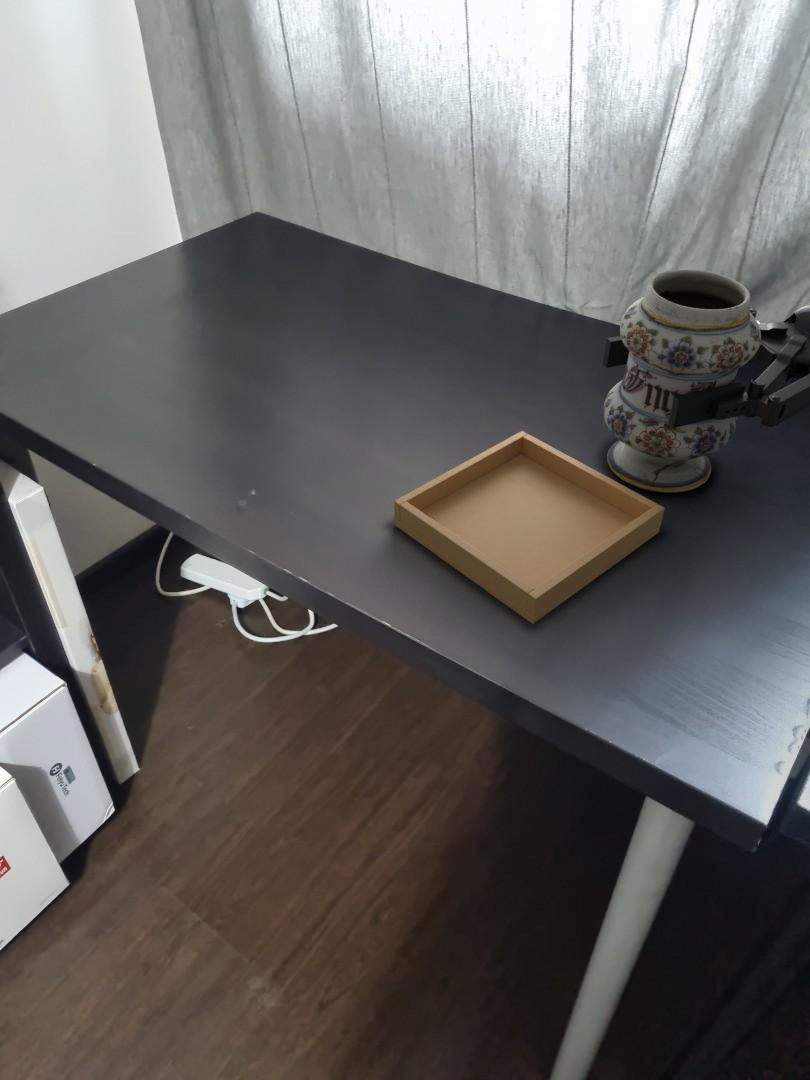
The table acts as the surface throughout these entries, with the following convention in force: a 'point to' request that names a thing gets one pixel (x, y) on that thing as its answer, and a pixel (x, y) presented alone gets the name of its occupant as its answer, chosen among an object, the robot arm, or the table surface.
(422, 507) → the tray
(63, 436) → the table surface
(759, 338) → the apothecary jar
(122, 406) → the table surface
